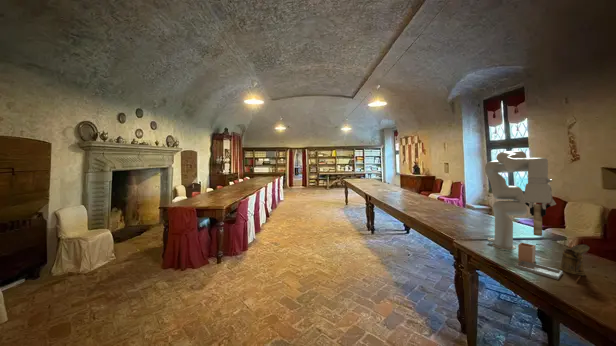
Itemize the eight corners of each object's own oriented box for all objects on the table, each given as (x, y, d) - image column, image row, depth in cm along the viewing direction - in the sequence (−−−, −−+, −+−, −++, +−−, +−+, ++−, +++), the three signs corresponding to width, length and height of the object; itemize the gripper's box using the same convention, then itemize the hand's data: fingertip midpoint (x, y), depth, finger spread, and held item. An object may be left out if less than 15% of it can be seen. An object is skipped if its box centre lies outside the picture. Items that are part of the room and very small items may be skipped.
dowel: (534, 233, 123) (534, 204, 123) (542, 235, 121) (542, 205, 120) (532, 234, 121) (532, 205, 121) (541, 236, 119) (541, 205, 118)
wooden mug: (570, 278, 114) (570, 242, 113) (555, 266, 126) (555, 234, 125) (595, 281, 110) (596, 245, 109) (578, 269, 122) (578, 236, 121)
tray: (515, 268, 125) (515, 264, 125) (521, 264, 130) (521, 260, 130) (558, 281, 111) (558, 276, 111) (562, 275, 117) (562, 270, 117)
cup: (518, 261, 133) (518, 244, 133) (521, 259, 137) (521, 242, 136) (532, 265, 128) (532, 247, 128) (535, 262, 131) (535, 245, 131)
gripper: (561, 181, 116) (561, 217, 116) (518, 180, 129) (518, 212, 129) (559, 182, 111) (559, 219, 112) (515, 181, 125) (515, 214, 125)
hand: (537, 215), depth 121 cm, fingers closed on dowel, 3 cm apart
